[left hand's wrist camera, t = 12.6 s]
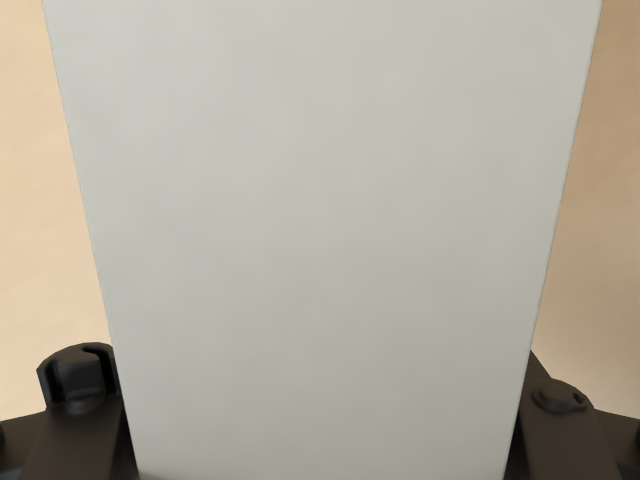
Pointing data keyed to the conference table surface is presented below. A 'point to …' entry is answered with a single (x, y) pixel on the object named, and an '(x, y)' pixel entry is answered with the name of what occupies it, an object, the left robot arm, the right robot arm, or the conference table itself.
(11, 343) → the conference table surface
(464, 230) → the bar
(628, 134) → the conference table surface
